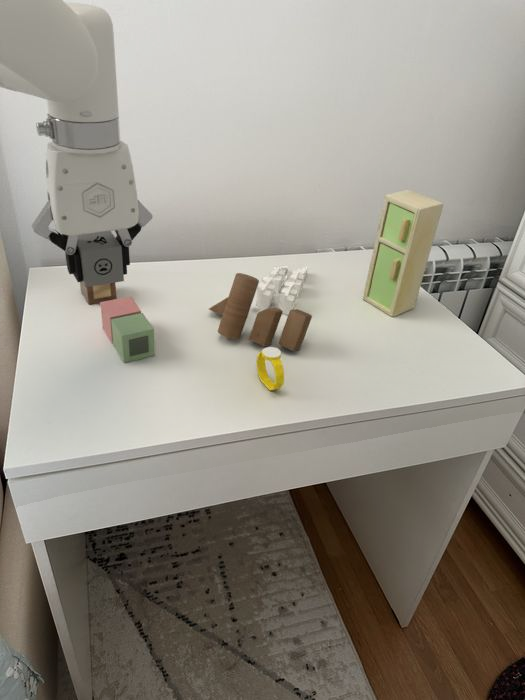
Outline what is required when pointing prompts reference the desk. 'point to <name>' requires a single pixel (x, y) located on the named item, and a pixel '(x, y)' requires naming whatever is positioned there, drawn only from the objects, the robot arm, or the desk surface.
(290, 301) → the modular blocks
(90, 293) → the brown cube
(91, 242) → the dice cube
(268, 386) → the watch
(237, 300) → the wooden block set
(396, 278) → the toy refrigerator
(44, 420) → the desk surface
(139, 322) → the green cube
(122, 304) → the plain pink block
